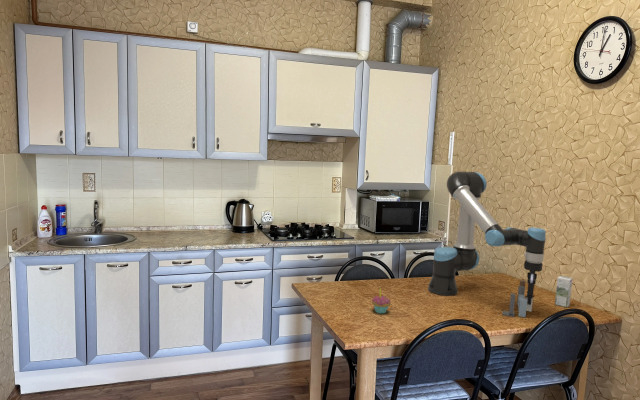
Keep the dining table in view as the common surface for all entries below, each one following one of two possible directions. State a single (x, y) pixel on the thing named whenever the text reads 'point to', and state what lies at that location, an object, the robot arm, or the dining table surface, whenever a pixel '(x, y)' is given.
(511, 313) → the post
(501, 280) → the dining table surface
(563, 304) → the syrup box
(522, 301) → the gate
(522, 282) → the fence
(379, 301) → the cupcake
